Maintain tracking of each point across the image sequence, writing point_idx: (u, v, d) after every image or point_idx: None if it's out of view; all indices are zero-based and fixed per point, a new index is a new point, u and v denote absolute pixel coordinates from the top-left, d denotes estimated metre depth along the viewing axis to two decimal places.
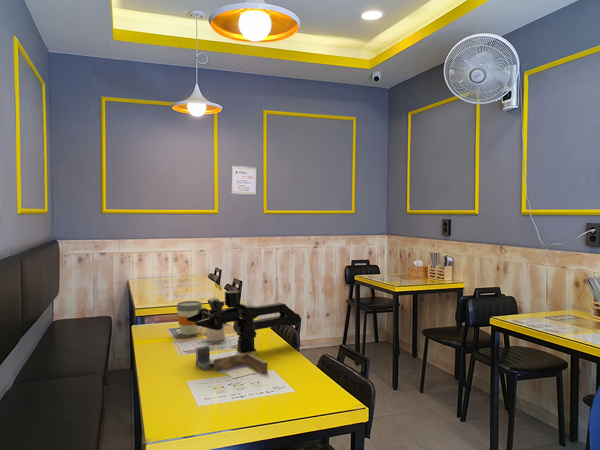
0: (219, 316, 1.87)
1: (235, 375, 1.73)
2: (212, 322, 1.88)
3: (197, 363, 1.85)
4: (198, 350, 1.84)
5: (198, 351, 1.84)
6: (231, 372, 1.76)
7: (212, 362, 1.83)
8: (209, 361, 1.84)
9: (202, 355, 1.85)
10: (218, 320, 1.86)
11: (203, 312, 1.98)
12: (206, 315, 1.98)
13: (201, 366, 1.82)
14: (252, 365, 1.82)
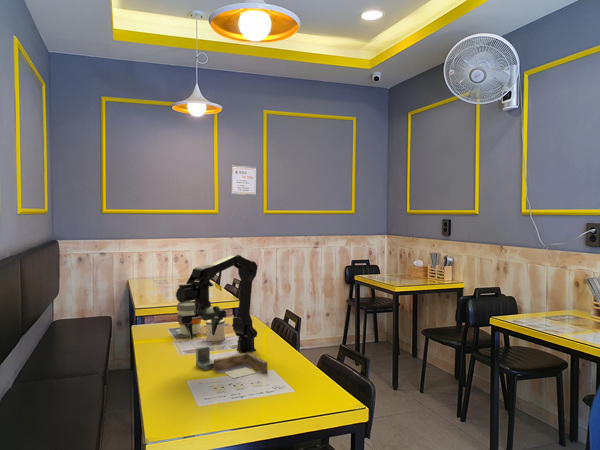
0: (225, 314, 1.89)
1: (235, 375, 1.73)
2: None
3: (197, 363, 1.85)
4: (198, 350, 1.84)
5: (198, 351, 1.84)
6: (231, 372, 1.76)
7: (212, 362, 1.83)
8: (209, 361, 1.84)
9: (202, 355, 1.85)
10: None
11: None
12: None
13: (201, 366, 1.82)
14: (252, 365, 1.82)
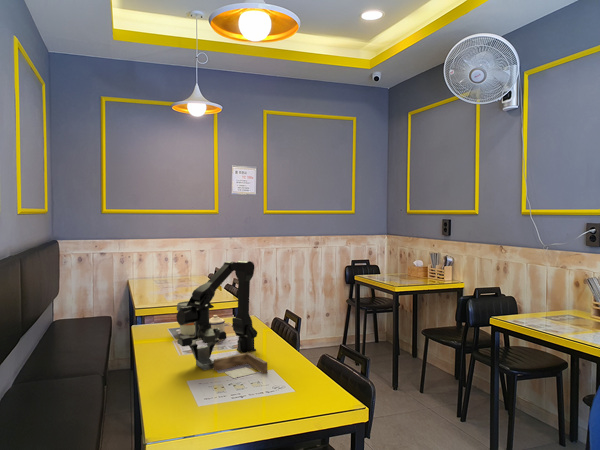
0: None
1: (235, 375, 1.73)
2: None
3: (197, 363, 1.85)
4: (198, 350, 1.84)
5: (198, 351, 1.84)
6: (231, 372, 1.76)
7: (212, 362, 1.83)
8: (209, 360, 1.84)
9: (202, 355, 1.85)
10: None
11: None
12: None
13: (201, 366, 1.82)
14: (252, 365, 1.82)
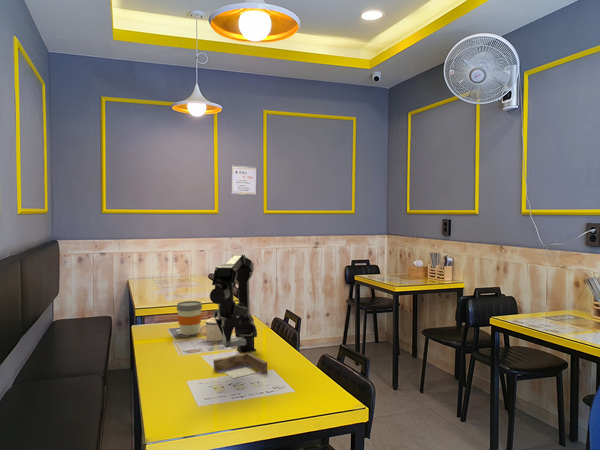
0: None
1: (235, 375, 1.73)
2: None
3: (229, 344, 1.74)
4: None
5: None
6: (231, 372, 1.76)
7: (239, 337, 1.80)
8: (234, 338, 1.78)
9: None
10: None
11: None
12: None
13: (238, 344, 1.75)
14: (252, 365, 1.82)
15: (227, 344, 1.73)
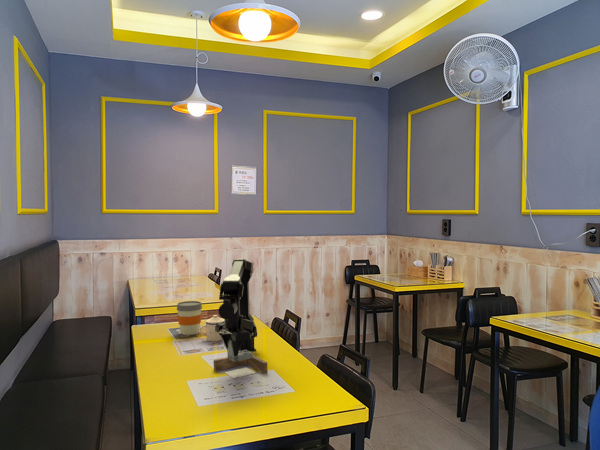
0: None
1: (235, 375, 1.73)
2: None
3: (237, 358, 1.72)
4: None
5: None
6: (231, 372, 1.76)
7: (244, 350, 1.79)
8: (239, 351, 1.77)
9: None
10: None
11: None
12: None
13: (245, 357, 1.74)
14: (252, 365, 1.82)
15: (235, 358, 1.72)
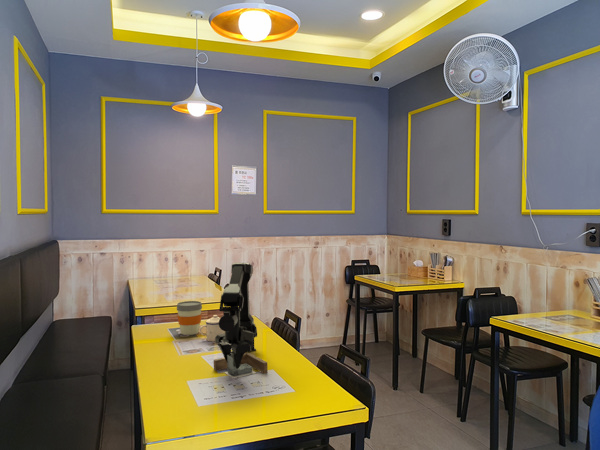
0: None
1: None
2: None
3: (237, 373, 1.72)
4: None
5: None
6: None
7: (244, 364, 1.79)
8: None
9: None
10: None
11: None
12: None
13: (245, 371, 1.74)
14: (252, 365, 1.82)
15: (235, 373, 1.72)
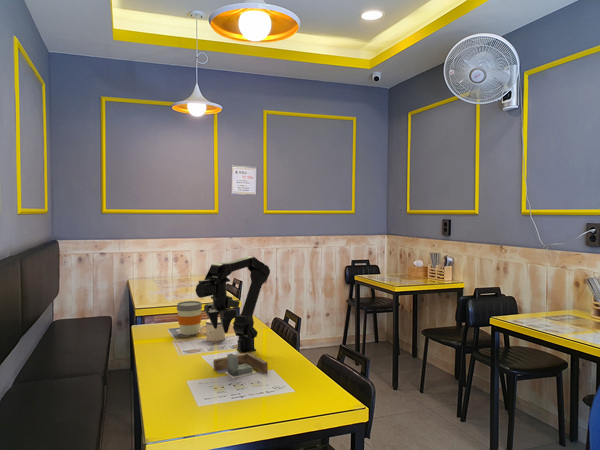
0: None
1: None
2: None
3: (237, 373, 1.72)
4: None
5: None
6: None
7: (244, 364, 1.79)
8: (239, 366, 1.77)
9: None
10: None
11: None
12: None
13: (245, 371, 1.74)
14: (252, 365, 1.82)
15: (235, 373, 1.72)
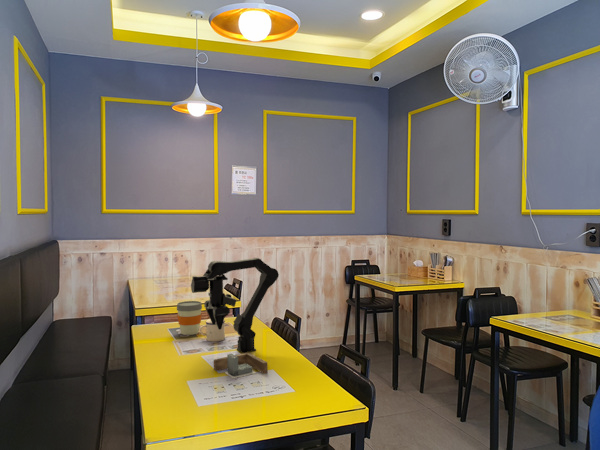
0: None
1: None
2: None
3: (237, 373, 1.72)
4: None
5: None
6: None
7: (244, 364, 1.79)
8: (239, 366, 1.77)
9: None
10: None
11: None
12: None
13: (245, 371, 1.74)
14: (252, 365, 1.82)
15: (235, 373, 1.72)
